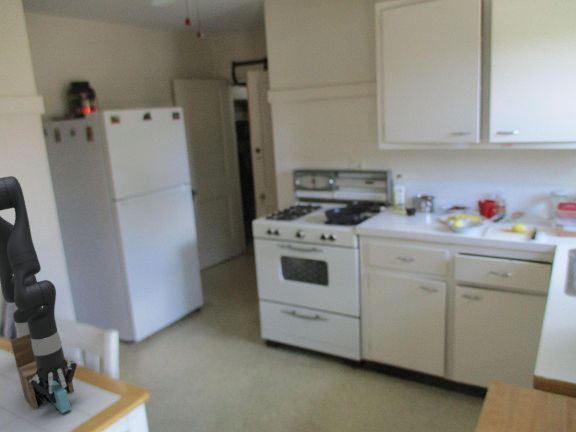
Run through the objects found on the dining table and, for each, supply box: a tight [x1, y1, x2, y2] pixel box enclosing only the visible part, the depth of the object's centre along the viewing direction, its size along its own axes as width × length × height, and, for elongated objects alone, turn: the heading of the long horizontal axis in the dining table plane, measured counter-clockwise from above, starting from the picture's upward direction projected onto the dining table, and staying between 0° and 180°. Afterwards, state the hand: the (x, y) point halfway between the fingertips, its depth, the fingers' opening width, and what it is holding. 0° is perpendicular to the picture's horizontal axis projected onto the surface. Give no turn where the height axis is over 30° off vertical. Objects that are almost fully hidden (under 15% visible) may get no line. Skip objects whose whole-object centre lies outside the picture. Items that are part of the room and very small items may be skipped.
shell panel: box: [42, 380, 72, 414], centre depth 147 cm, size 14×2×6 cm, turn 44°
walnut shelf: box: [10, 334, 75, 410], centre depth 152 cm, size 9×12×20 cm
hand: (59, 399), depth 146 cm, fingers closed on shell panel, 2 cm apart
